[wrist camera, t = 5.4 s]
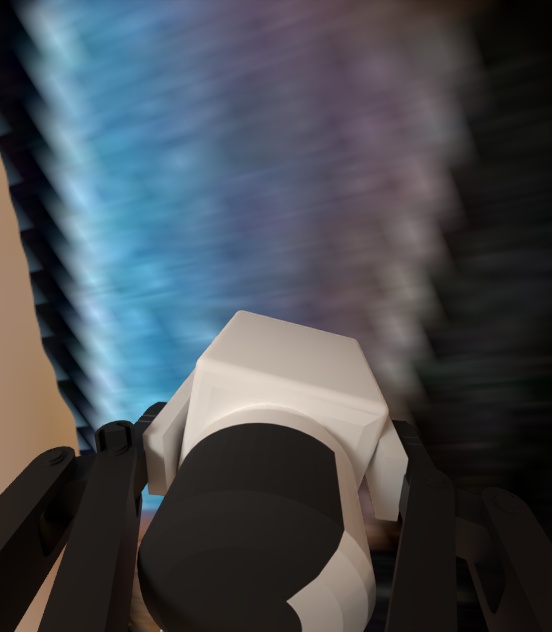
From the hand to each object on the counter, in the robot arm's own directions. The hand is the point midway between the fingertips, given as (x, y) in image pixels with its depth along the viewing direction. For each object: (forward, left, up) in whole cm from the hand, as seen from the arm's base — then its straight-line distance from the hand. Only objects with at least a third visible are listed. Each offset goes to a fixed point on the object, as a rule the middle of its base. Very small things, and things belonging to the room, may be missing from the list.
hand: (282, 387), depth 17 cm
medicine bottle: (0, 0, -1) cm, 1 cm away
